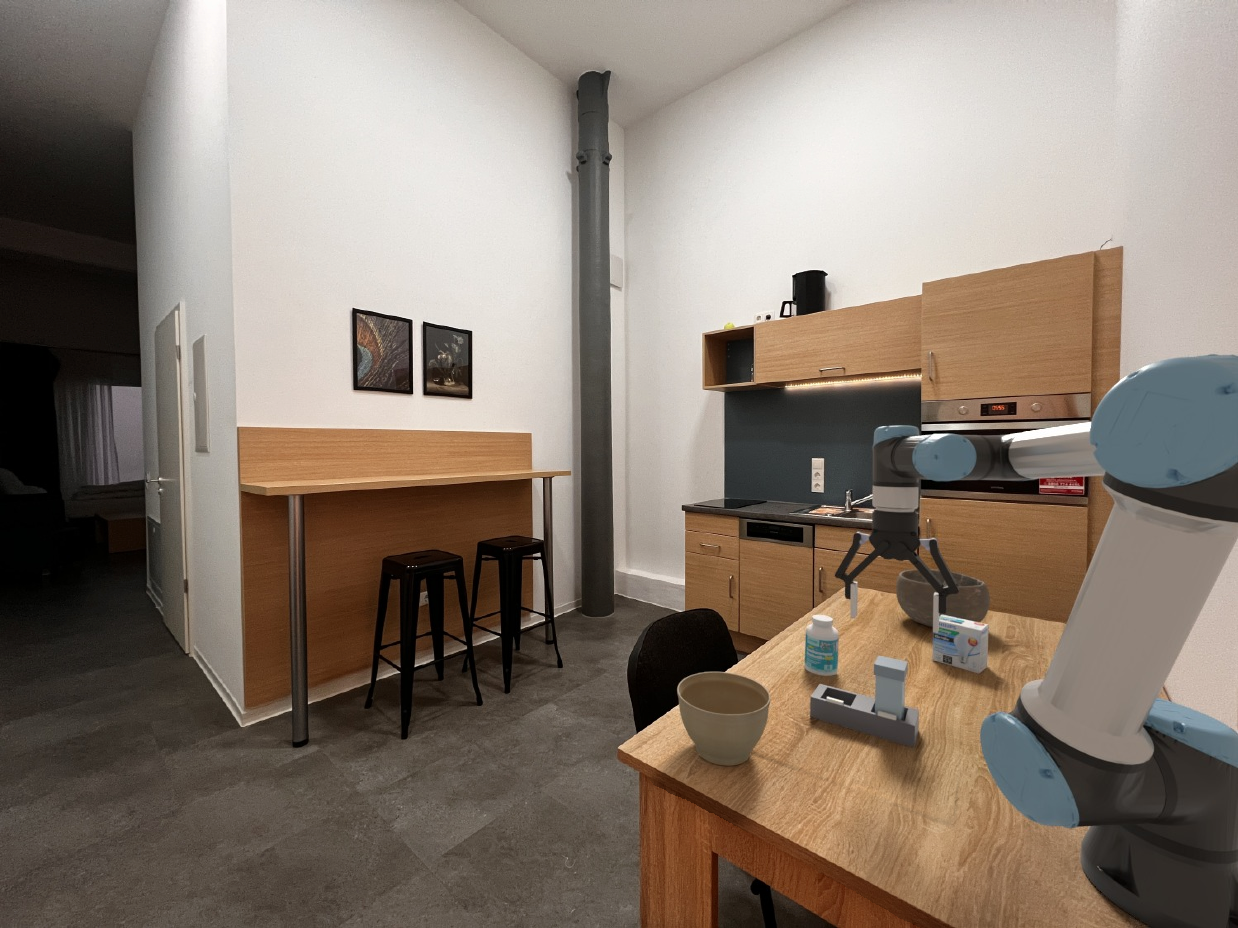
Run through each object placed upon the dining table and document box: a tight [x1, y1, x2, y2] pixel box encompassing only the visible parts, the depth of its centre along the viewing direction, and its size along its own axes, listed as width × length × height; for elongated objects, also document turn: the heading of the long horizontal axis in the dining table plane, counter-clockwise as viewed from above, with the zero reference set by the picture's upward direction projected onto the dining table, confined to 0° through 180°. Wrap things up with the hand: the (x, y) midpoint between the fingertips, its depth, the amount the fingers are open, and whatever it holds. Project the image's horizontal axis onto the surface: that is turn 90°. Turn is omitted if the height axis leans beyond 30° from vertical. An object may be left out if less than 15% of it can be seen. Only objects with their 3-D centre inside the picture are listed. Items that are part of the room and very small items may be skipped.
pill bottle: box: [804, 614, 840, 677], centre depth 124 cm, size 8×7×14 cm
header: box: [809, 683, 920, 749], centre depth 100 cm, size 7×18×6 cm, turn 55°
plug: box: [873, 655, 909, 721], centre depth 97 cm, size 5×5×13 cm
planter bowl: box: [676, 671, 771, 767], centre depth 92 cm, size 16×16×11 cm
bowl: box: [895, 568, 991, 628], centre depth 159 cm, size 24×24×15 cm
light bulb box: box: [931, 615, 989, 674], centre depth 130 cm, size 11×7×11 cm, turn 42°
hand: (893, 623), depth 96 cm, fingers open, 13 cm apart
